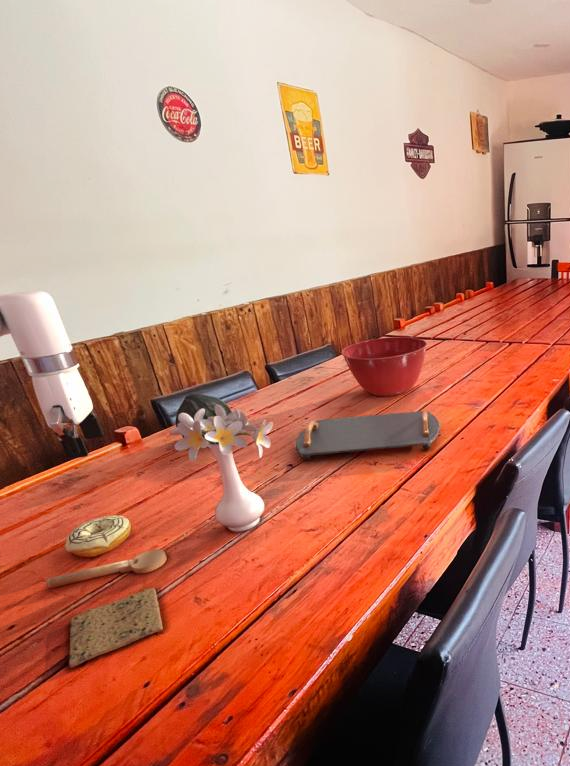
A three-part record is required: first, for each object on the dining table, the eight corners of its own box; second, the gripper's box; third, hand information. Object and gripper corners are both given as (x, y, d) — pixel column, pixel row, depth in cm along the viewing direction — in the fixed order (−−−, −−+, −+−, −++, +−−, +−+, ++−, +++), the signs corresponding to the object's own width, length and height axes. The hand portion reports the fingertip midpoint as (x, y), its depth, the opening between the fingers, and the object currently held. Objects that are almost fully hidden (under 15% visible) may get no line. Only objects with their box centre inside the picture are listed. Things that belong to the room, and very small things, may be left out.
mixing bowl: (333, 391, 179) (325, 348, 172) (400, 372, 195) (395, 332, 189) (377, 411, 159) (370, 363, 153) (447, 387, 176) (444, 343, 170)
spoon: (42, 598, 88) (38, 590, 87) (53, 578, 93) (49, 570, 92) (164, 568, 94) (161, 560, 93) (168, 551, 98) (165, 543, 97)
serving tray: (289, 466, 128) (284, 443, 126) (307, 429, 149) (303, 409, 146) (442, 452, 131) (440, 430, 129) (439, 418, 152) (437, 398, 149)
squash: (237, 405, 155) (190, 377, 145) (248, 421, 144) (197, 392, 134) (208, 442, 154) (158, 416, 144) (216, 462, 143) (163, 435, 133)
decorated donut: (58, 563, 96) (50, 547, 95) (88, 531, 106) (81, 515, 104) (117, 556, 98) (110, 539, 96) (142, 524, 107) (135, 509, 106)
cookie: (164, 629, 79) (162, 625, 79) (69, 669, 73) (66, 664, 73) (156, 588, 88) (154, 584, 88) (70, 620, 82) (68, 616, 82)
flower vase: (287, 534, 101) (258, 418, 91) (190, 546, 99) (147, 429, 88) (298, 500, 113) (273, 394, 102) (211, 510, 111) (176, 403, 100)
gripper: (45, 353, 99) (79, 433, 107) (5, 378, 84) (47, 469, 92) (90, 348, 101) (120, 427, 109) (58, 372, 87) (95, 461, 94)
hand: (87, 446), depth 100 cm, fingers open, 9 cm apart
